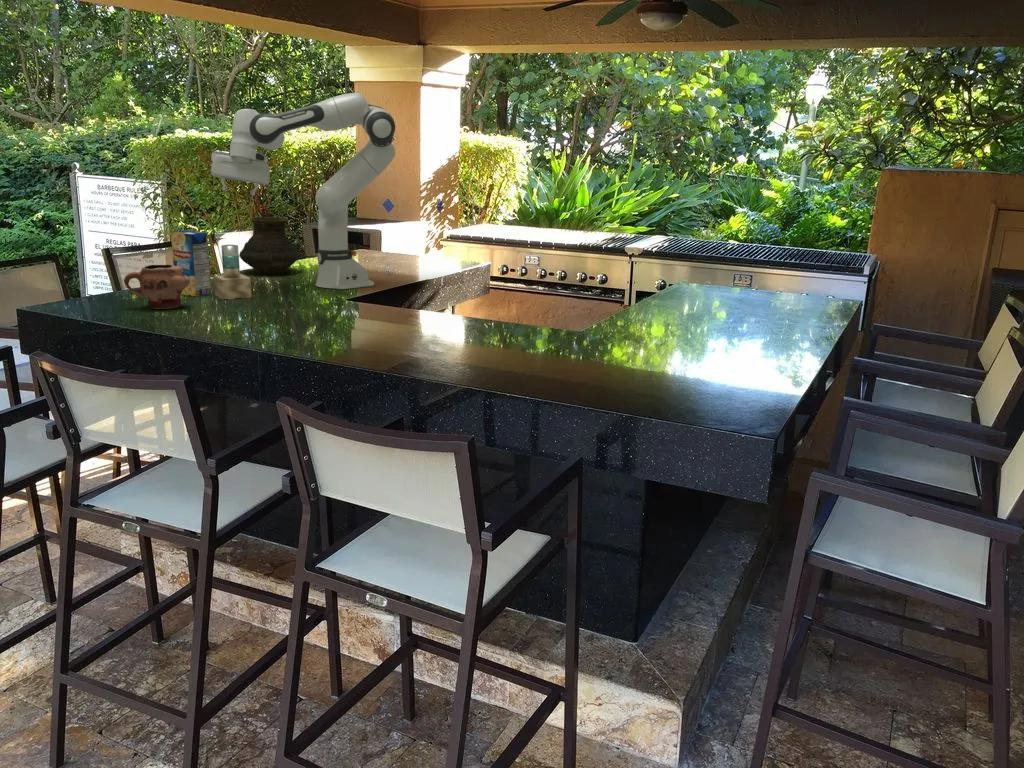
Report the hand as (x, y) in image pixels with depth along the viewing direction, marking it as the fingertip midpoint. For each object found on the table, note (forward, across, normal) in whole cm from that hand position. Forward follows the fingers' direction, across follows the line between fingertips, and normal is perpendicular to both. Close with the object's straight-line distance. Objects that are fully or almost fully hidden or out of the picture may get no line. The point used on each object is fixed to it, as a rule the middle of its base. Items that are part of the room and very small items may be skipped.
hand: (238, 193), depth 308 cm
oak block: (+37, +1, -4) cm, 38 cm away
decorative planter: (+45, -22, -19) cm, 53 cm away
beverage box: (+38, -12, +4) cm, 40 cm away
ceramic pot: (+23, +18, +47) cm, 56 cm away
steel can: (+30, 0, -5) cm, 31 cm away
